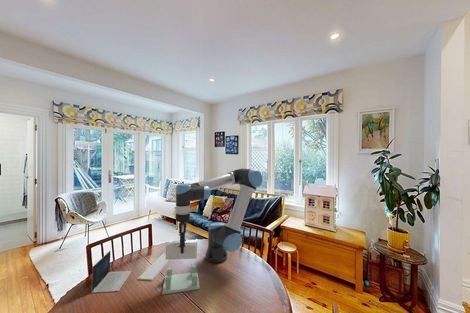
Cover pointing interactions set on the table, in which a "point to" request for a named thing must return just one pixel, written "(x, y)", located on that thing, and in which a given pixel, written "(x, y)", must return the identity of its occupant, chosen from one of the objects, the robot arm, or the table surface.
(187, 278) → the rack
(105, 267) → the laptop
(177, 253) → the white rectangular block
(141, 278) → the baseboard
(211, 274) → the table surface
